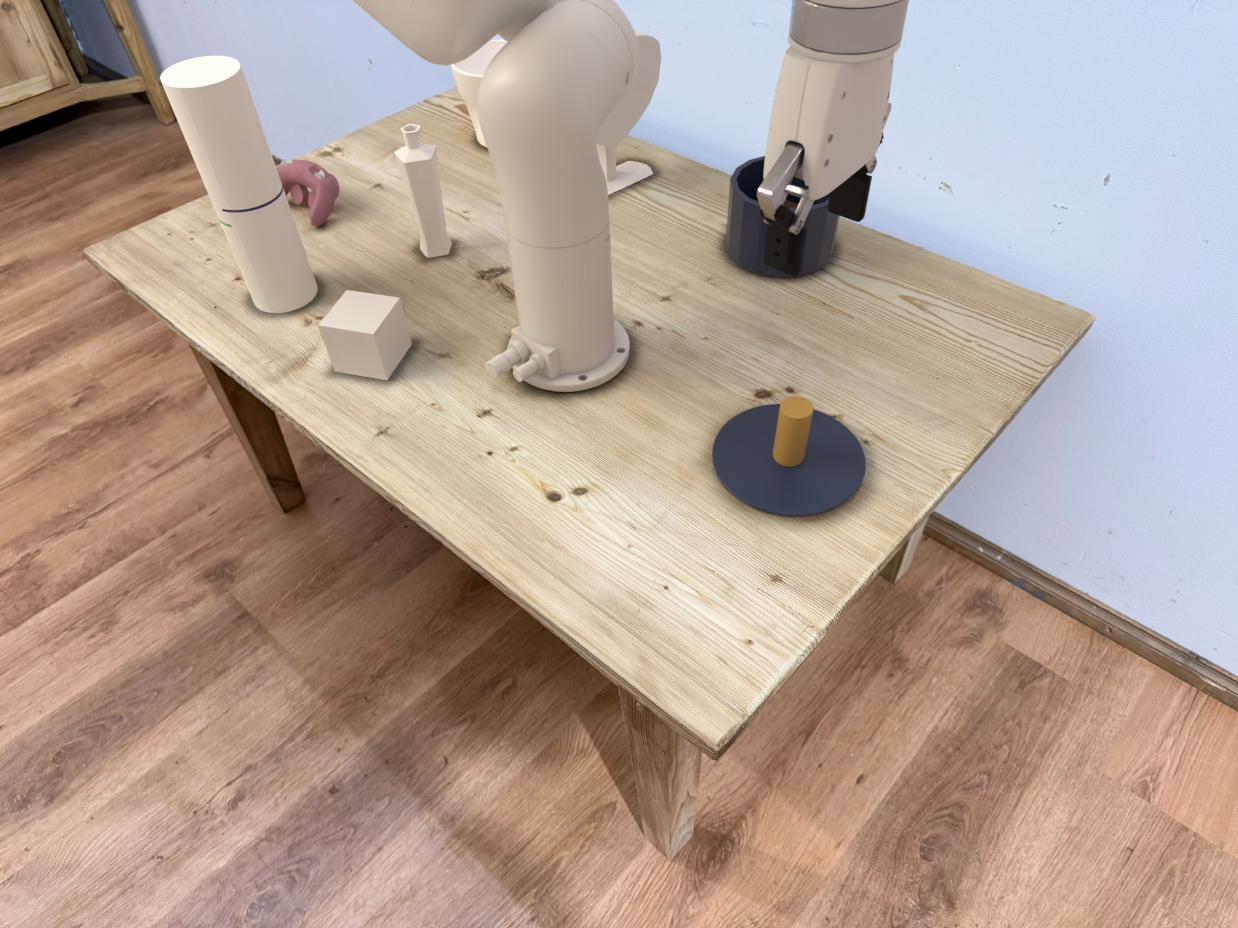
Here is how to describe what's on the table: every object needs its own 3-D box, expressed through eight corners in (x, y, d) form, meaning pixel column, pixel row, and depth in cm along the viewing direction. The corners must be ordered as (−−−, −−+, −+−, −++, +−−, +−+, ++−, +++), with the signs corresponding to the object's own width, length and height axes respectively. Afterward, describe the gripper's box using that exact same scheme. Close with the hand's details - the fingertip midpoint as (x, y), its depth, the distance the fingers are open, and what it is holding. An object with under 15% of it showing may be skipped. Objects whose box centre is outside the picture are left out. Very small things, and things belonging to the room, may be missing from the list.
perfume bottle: (409, 255, 101) (380, 135, 90) (428, 236, 104) (402, 117, 93) (442, 263, 100) (417, 141, 89) (461, 243, 103) (438, 123, 92)
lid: (806, 548, 70) (819, 492, 65) (681, 468, 77) (683, 412, 72) (892, 459, 77) (910, 401, 72) (770, 392, 83) (778, 335, 78)
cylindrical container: (300, 316, 94) (215, 90, 76) (241, 309, 95) (144, 85, 77) (328, 279, 99) (254, 58, 80) (271, 273, 100) (186, 53, 81)
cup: (452, 155, 118) (437, 74, 110) (476, 115, 126) (465, 37, 118) (539, 160, 116) (531, 78, 108) (558, 119, 125) (552, 40, 117)
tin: (791, 291, 94) (801, 224, 88) (705, 251, 100) (708, 185, 94) (852, 244, 100) (866, 178, 94) (767, 208, 106) (774, 144, 100)
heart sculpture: (639, 155, 117) (637, 16, 103) (664, 169, 114) (665, 27, 101) (549, 196, 110) (535, 52, 97) (574, 211, 107) (563, 65, 94)
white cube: (361, 336, 91) (346, 289, 87) (412, 344, 90) (400, 297, 86) (334, 371, 87) (317, 325, 83) (387, 380, 86) (373, 333, 82)
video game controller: (342, 227, 109) (347, 171, 106) (314, 228, 105) (318, 170, 102) (289, 207, 113) (292, 153, 110) (260, 207, 109) (262, 151, 106)
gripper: (861, -28, 63) (829, 184, 75) (726, 49, 54) (715, 275, 67) (957, -9, 59) (907, 210, 72) (829, 77, 51) (797, 310, 63)
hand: (814, 241), depth 69 cm, fingers open, 9 cm apart
